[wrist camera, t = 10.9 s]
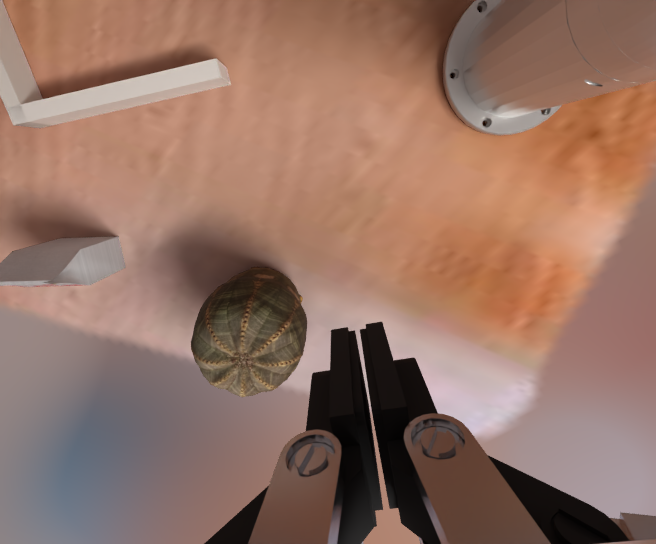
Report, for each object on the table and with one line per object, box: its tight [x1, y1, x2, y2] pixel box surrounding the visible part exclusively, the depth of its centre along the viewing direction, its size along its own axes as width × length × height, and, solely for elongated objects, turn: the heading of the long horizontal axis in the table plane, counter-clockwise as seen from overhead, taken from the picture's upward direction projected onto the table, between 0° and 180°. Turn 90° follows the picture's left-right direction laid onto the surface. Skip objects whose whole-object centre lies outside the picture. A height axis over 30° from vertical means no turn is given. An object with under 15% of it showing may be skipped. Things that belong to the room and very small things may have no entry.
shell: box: [191, 267, 307, 397], centre depth 34 cm, size 11×11×12 cm
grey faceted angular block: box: [0, 236, 126, 287], centre depth 34 cm, size 4×7×10 cm, turn 92°
